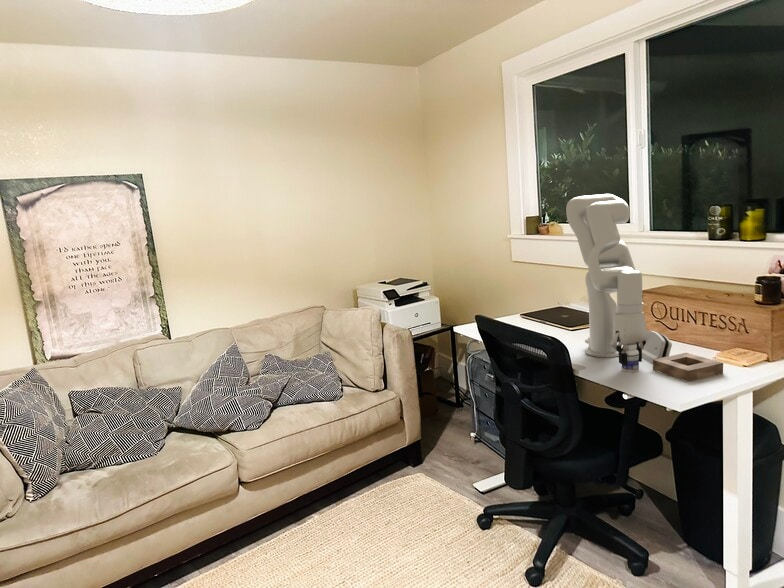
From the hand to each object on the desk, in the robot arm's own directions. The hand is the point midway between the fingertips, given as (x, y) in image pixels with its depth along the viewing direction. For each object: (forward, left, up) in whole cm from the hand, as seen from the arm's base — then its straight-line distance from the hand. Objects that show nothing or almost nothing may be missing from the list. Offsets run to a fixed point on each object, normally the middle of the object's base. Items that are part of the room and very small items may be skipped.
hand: (630, 361), depth 185 cm
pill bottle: (0, 0, -3) cm, 3 cm away
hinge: (-8, +16, -3) cm, 18 cm away
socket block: (+11, +13, -3) cm, 17 cm away
